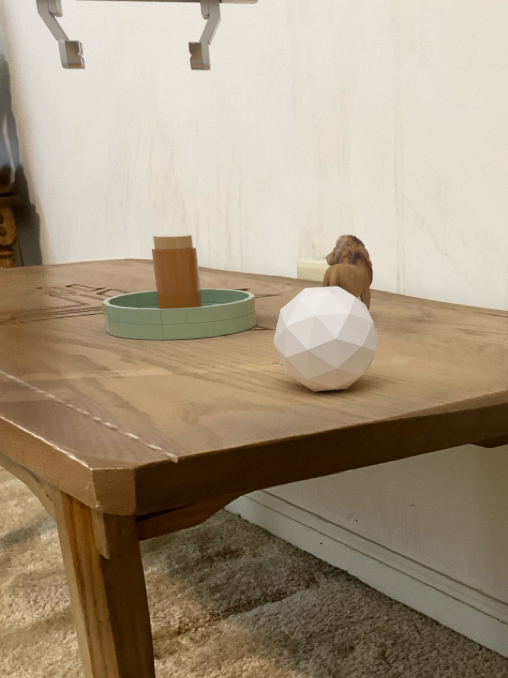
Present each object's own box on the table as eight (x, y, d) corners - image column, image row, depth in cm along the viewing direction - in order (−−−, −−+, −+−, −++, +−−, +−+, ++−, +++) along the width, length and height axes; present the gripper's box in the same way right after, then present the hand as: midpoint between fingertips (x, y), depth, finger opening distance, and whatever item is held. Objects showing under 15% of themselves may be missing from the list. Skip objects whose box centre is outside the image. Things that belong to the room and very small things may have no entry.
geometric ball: (320, 430, 65) (262, 356, 59) (302, 372, 70) (247, 299, 64) (406, 379, 64) (355, 299, 58) (381, 324, 69) (332, 246, 63)
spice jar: (159, 330, 86) (147, 237, 83) (163, 323, 90) (152, 234, 87) (203, 329, 87) (193, 236, 83) (205, 322, 91) (196, 233, 87)
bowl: (96, 349, 81) (90, 311, 80) (119, 323, 95) (114, 290, 93) (257, 342, 83) (254, 306, 82) (256, 318, 97) (254, 286, 96)
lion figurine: (329, 316, 98) (325, 233, 94) (375, 315, 98) (373, 232, 94) (315, 339, 84) (310, 244, 81) (369, 339, 84) (366, 243, 81)
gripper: (-61, -180, 55) (-18, 63, 61) (257, -164, 58) (271, 66, 64) (-32, -147, 61) (6, 72, 66) (256, -134, 64) (269, 74, 69)
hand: (138, 69), depth 65 cm, fingers open, 8 cm apart
